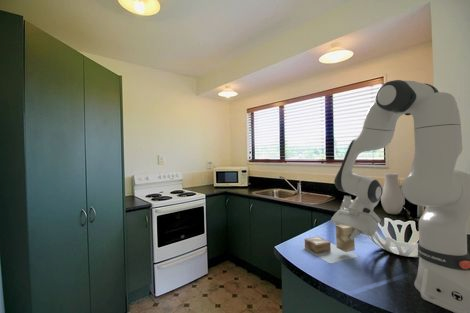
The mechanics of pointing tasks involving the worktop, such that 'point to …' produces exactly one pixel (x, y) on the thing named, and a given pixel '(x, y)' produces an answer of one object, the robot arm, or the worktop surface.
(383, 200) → the vase
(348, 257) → the pale flat sheet
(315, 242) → the walnut plinth
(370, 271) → the worktop surface
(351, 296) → the worktop surface
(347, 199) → the grey statuette
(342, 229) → the birch column
